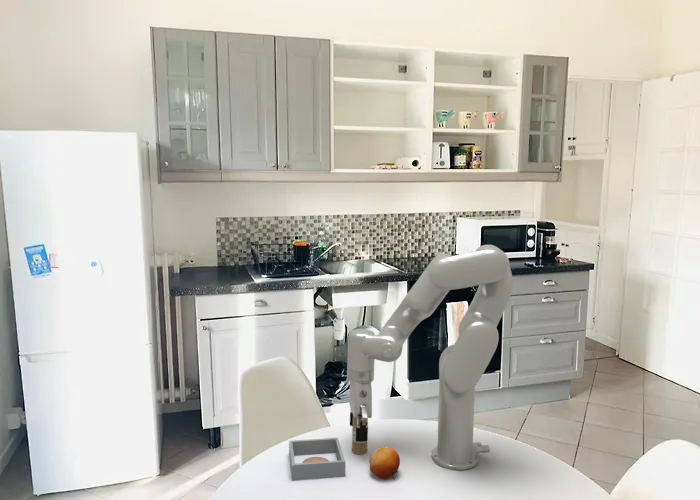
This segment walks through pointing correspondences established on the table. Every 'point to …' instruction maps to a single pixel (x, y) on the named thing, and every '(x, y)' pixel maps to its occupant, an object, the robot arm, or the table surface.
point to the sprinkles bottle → (358, 446)
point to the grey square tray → (316, 459)
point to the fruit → (384, 463)
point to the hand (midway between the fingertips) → (358, 433)
